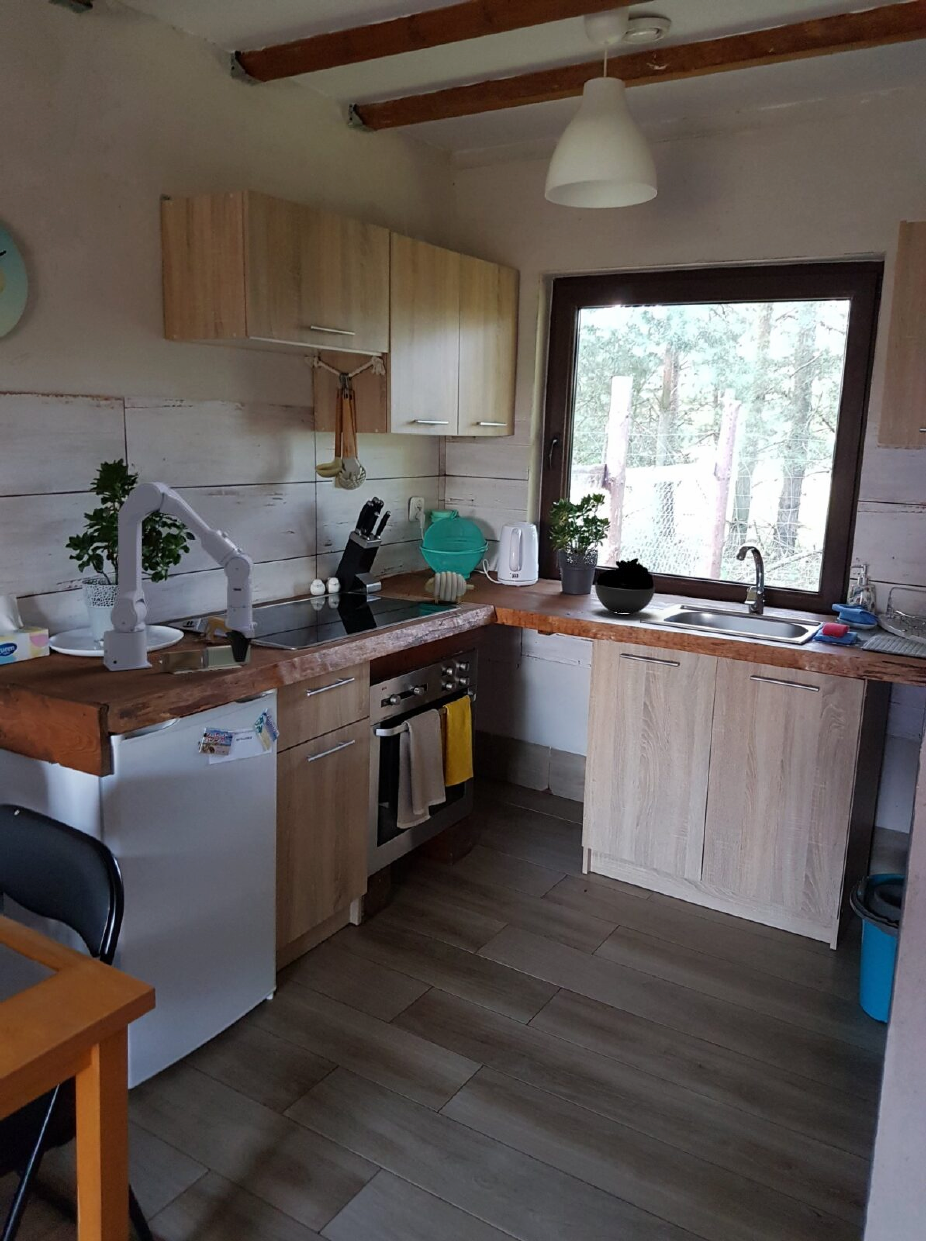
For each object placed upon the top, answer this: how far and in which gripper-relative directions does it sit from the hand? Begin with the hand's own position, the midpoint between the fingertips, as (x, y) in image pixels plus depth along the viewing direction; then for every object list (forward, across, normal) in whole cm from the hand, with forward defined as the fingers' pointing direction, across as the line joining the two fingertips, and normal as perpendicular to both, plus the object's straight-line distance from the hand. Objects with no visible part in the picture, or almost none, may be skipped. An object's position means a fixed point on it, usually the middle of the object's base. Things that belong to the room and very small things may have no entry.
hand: (239, 661), depth 224 cm
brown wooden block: (+2, +4, +13) cm, 13 cm away
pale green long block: (+1, +4, +2) cm, 5 cm away
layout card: (+2, +8, +7) cm, 11 cm away
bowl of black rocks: (+2, +22, -142) cm, 144 cm away
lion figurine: (+2, +29, -7) cm, 30 cm away
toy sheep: (+2, +60, -96) cm, 113 cm away
